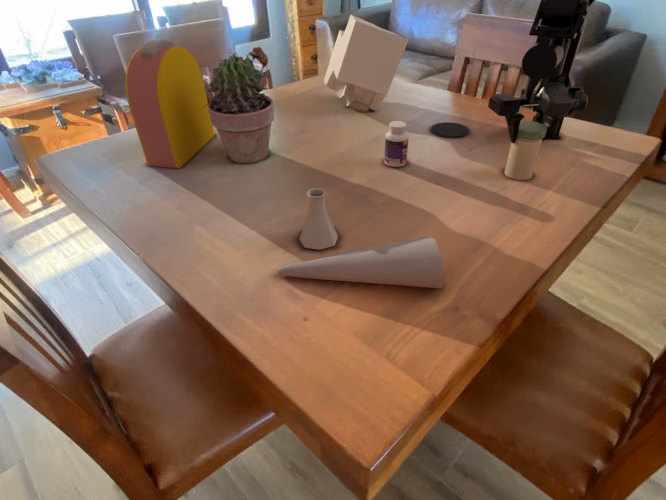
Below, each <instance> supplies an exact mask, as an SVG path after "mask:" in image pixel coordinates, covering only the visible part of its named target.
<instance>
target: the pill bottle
mask: <svg viewBox="0 0 666 500" xmlns="http://www.w3.org/2000/svg"><path fill="white" fill-rule="evenodd" d="M409 139H410V138H409V134H408V132H407V122H404V121H401V120H393V121H391V122H389V124H388V131H387V132H386V133H385V140H384V143H385V144H384V156H383V157H384V158H383V161H384V165H386V166H388V167H391V168H400V167H404V166H405V165H406V164H407V159H408V148H409Z"/></svg>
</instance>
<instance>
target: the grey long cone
mask: <svg viewBox="0 0 666 500" xmlns="http://www.w3.org/2000/svg"><path fill="white" fill-rule="evenodd" d="M439 247H440V246H439V245H438V242H437V239H435V237H432V235H425V236H421V237H415V238H410V239H406V240H401V241H395V242H390V243H386V244H380V245H374V246H370V247H365V248H361V249H360V248H359V249H354V250H350V251H344V252H339V253H337V255H332V256H327V257H326V256H325V257H321V258H315V259H310V260H306V261H300V262H293V263H287V264H285V265H282V266H280V267H278V268H277V273H278V275H280V276H283V277H292V278H299V279H313V280H323V281H324V280H325V281H338V282H351V283H365V284H378V285H389V286H390V285H392V286H404V287H405V286H406V287H413V288H414V287H415V288H416V287H417V288H427V289H440V290H441V289H443V288H444V282H445V275H444V265H443V260H442V256H441V255H442V254H441V251H440V248H439Z"/></svg>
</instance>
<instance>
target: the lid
mask: <svg viewBox="0 0 666 500" xmlns="http://www.w3.org/2000/svg"><path fill="white" fill-rule="evenodd" d="M546 131H547V127H546V126H545V125H543V124H541V123H538V122H533V121H532V120H521V121H520V125H519V130H518V134H517V137H518V138H521V139H526V140H539V139H542V138H544V137H545V135H546Z"/></svg>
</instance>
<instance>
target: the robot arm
mask: <svg viewBox="0 0 666 500" xmlns="http://www.w3.org/2000/svg"><path fill="white" fill-rule="evenodd" d="M595 1H596V0H540V3H539V5H538V8H537V10H536V12H535V13H536V14H535V16H534V19H533V22H532V25H531V27H530V30H529V34H528V36H533V37H536V40H535V43H534V45H532V46H531V47H530V48H528V50H526V52H525V54H524V55H523V56H522V60H521V68H522V71H523V73H524V74H525V76H527V77H528V78H527V81H526V86H525V88H521V91H520V94H521V96H523V97H516V96H514V95H513V94H512V93H510V92H505V93H493V94H492V95H491V96H490V97H489V100H488V105H487V108H488V109H490V110H491V111H492V112H493V113H495V114H496V115H497V116H499V117H504V118H505V121H506V126H507V131H508V135H509V141H510V143H511V142H512V143H515V141H516V138H517V134H518V130H519V125H520V121H523V119H524V118H525V117H526V116H525V115H524V114H523V113H522V111H523V108H532V112H534V113H535V112H536V113H535V114H534V115H533V116H532V119H531V121H533V122H538V123H541V124H543V125H545V126H546V127H547V131H546V135H545V137H544V138H543V139H542V142H543V141H545V140H546V139H547V140H548V139H549V140H550V139H551V140H560V139H561V138H562V136H561V135H560V133H561V130H562V126H563V123H564V119H565V118H567V117H569V116H572V114H574V112H575V111H585V110H586V109H587V105H588V103H589V99H588V96H587V94H586V93H585V90H584V87H582V86H575V84H576V83H575V80H574V76H573V73H572V71H573V68H574V65H575V62H576V57H577V55H578V51H579V48H580V45H581V41H582V38H583V35H584V32H585V30H586V29H585V28H586V25H587V22H588V19H589V15H590V11H591V9H592V6H593V4H594V3H595Z"/></svg>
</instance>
